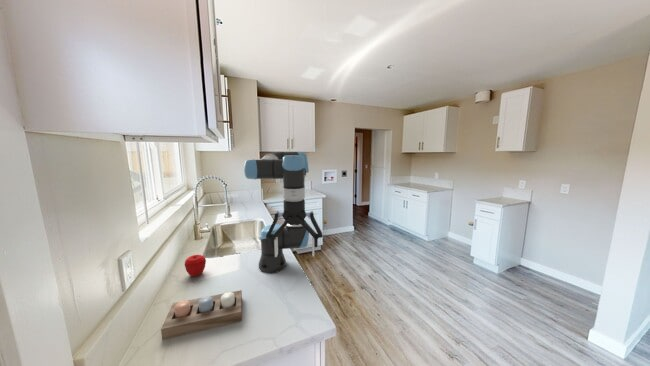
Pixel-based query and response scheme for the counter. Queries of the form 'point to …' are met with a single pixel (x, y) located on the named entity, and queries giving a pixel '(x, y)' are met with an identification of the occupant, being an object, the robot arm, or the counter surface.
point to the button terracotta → (182, 309)
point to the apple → (195, 265)
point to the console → (202, 317)
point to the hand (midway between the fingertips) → (295, 255)
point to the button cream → (227, 300)
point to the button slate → (205, 304)
